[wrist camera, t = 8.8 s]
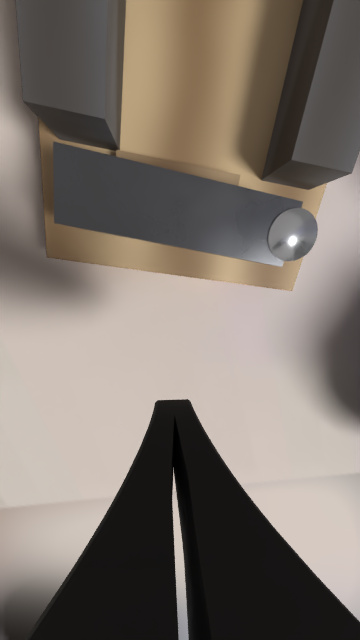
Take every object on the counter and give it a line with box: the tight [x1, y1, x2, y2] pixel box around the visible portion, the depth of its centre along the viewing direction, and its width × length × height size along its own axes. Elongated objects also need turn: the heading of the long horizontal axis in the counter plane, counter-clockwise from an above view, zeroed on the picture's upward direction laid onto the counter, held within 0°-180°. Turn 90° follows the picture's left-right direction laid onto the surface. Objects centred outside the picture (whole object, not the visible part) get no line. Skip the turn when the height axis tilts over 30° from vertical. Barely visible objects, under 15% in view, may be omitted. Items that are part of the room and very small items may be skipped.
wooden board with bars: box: [15, 0, 360, 291], centre depth 10 cm, size 16×20×6 cm
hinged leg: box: [53, 141, 318, 267], centre depth 11 cm, size 12×3×3 cm, turn 80°
